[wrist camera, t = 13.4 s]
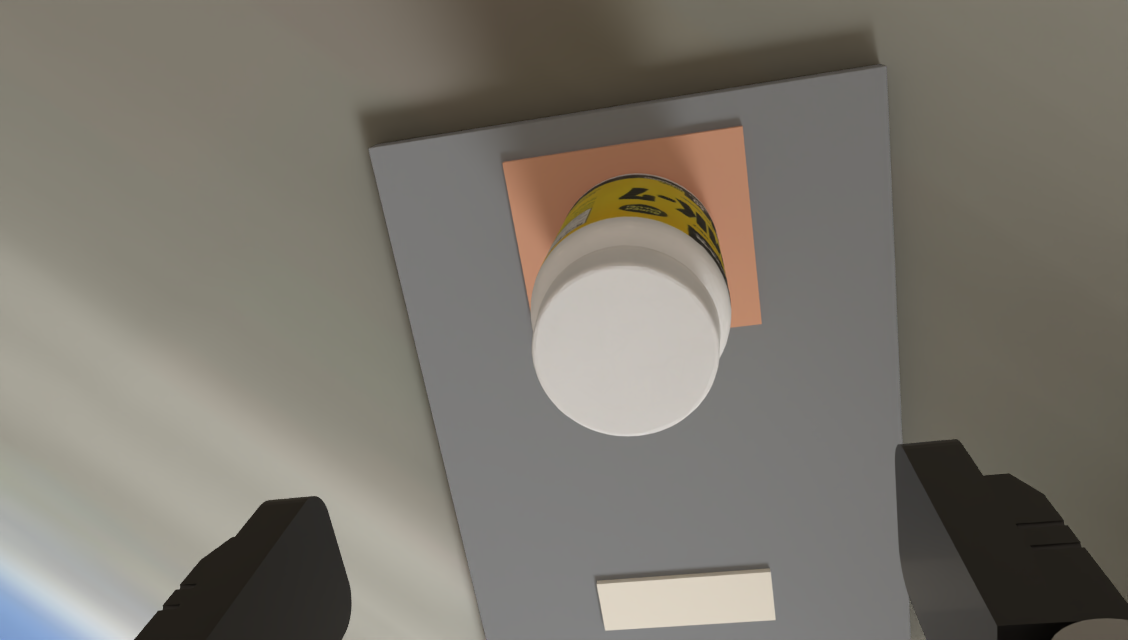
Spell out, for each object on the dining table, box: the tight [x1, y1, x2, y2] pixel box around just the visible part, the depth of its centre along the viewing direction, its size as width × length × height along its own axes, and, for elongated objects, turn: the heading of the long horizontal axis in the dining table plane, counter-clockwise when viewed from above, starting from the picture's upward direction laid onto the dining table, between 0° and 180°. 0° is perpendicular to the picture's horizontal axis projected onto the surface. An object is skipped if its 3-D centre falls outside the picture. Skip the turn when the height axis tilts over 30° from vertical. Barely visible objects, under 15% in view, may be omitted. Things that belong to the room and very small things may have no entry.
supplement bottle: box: [531, 173, 731, 436], centre depth 22 cm, size 5×5×8 cm
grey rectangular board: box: [368, 64, 911, 640], centre depth 28 cm, size 15×20×1 cm
